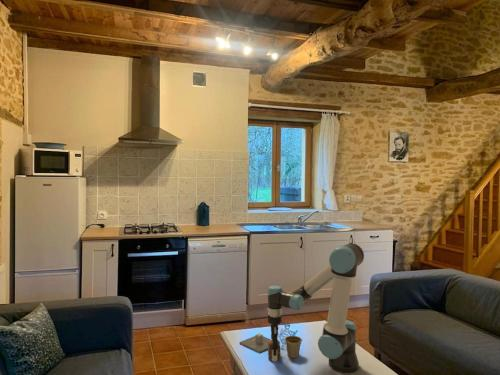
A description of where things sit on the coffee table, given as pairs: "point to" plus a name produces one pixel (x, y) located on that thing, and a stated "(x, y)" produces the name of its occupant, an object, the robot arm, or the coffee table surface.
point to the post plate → (256, 343)
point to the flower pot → (293, 345)
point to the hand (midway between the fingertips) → (274, 356)
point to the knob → (271, 350)
